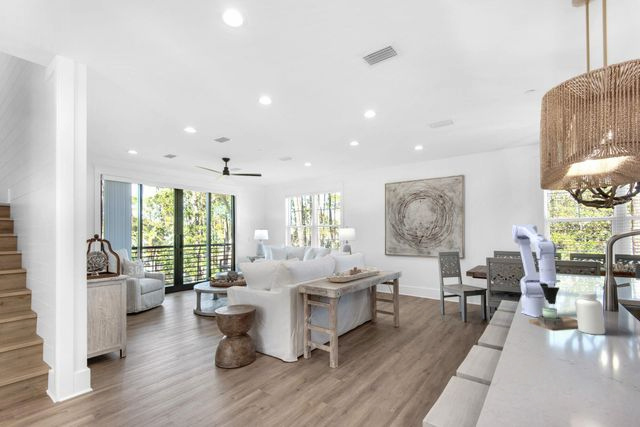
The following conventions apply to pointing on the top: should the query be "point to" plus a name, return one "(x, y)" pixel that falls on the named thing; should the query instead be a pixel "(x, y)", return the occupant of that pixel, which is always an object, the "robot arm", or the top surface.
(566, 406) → the top surface
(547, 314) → the cap
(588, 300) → the pill bottle
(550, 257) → the robot arm
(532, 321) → the stud board
